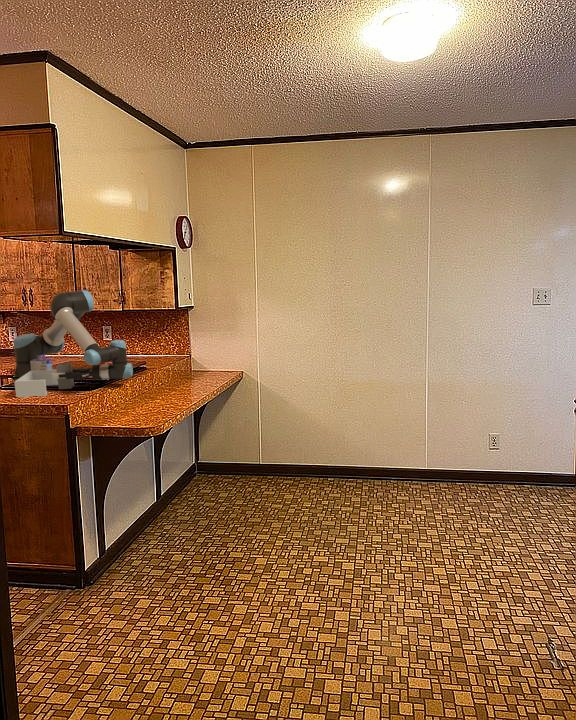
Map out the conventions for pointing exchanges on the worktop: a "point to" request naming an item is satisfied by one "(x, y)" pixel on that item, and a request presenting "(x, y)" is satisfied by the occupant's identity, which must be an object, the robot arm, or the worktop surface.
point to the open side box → (35, 383)
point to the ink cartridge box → (41, 364)
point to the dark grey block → (64, 382)
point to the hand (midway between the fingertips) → (54, 374)
